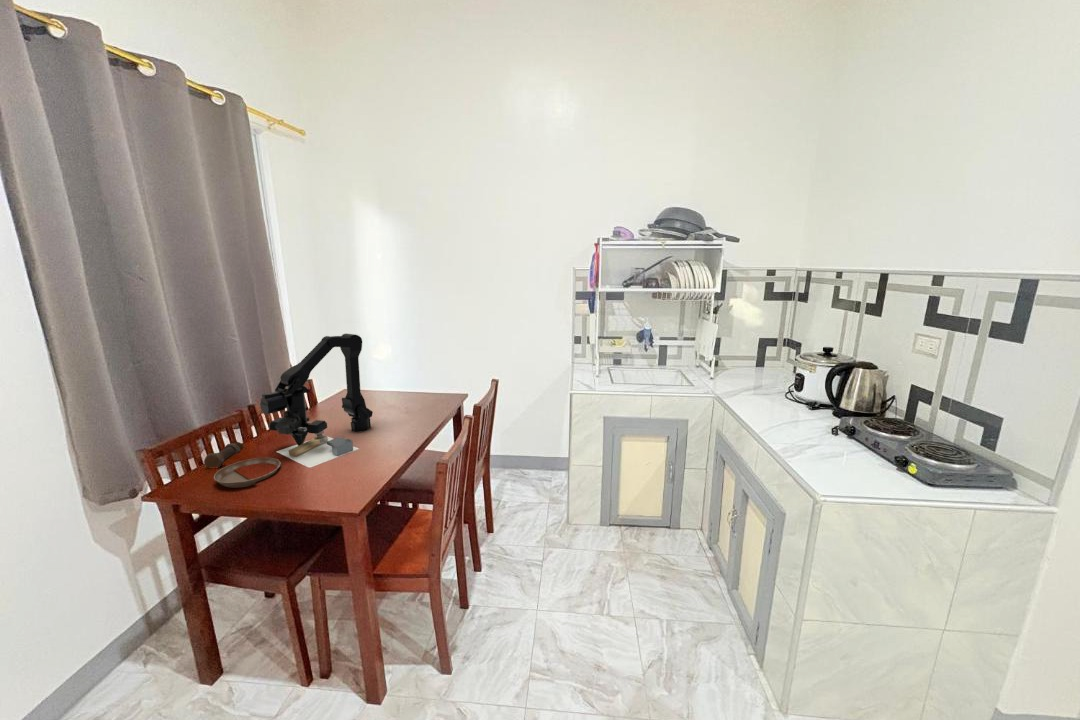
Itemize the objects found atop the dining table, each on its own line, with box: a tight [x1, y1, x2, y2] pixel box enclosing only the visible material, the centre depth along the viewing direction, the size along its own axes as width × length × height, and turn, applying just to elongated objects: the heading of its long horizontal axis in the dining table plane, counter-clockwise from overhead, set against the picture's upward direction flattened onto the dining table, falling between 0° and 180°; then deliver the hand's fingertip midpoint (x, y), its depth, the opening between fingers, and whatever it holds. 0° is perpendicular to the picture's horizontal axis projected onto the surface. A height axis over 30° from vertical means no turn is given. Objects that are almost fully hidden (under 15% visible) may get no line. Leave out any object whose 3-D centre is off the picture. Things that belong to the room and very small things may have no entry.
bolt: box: [203, 441, 244, 468], centre depth 152 cm, size 6×5×15 cm
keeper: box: [327, 436, 354, 457], centre depth 154 cm, size 6×7×4 cm
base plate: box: [275, 435, 360, 469], centre depth 156 cm, size 18×23×1 cm
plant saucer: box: [213, 457, 281, 489], centre depth 139 cm, size 18×18×3 cm
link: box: [289, 429, 328, 456], centre depth 157 cm, size 15×4×4 cm, turn 163°
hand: (300, 447), depth 157 cm, fingers closed
